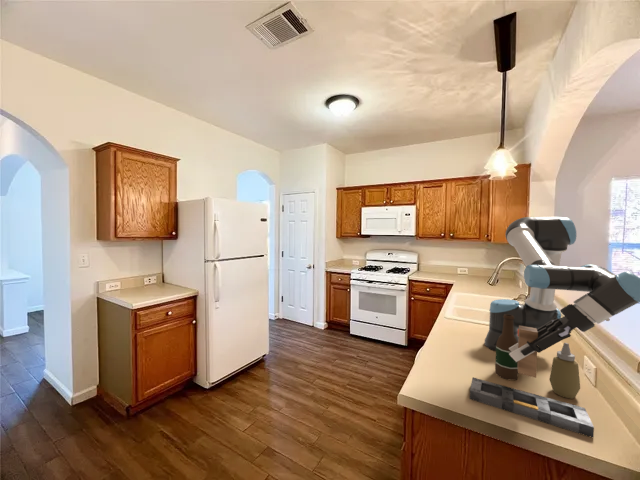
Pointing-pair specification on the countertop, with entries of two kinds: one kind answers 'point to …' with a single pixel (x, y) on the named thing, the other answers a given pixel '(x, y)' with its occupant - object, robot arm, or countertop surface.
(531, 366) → the walnut peg
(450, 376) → the countertop surface
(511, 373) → the beer bottle
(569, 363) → the squeeze bottle
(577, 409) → the metal rail
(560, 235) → the robot arm
